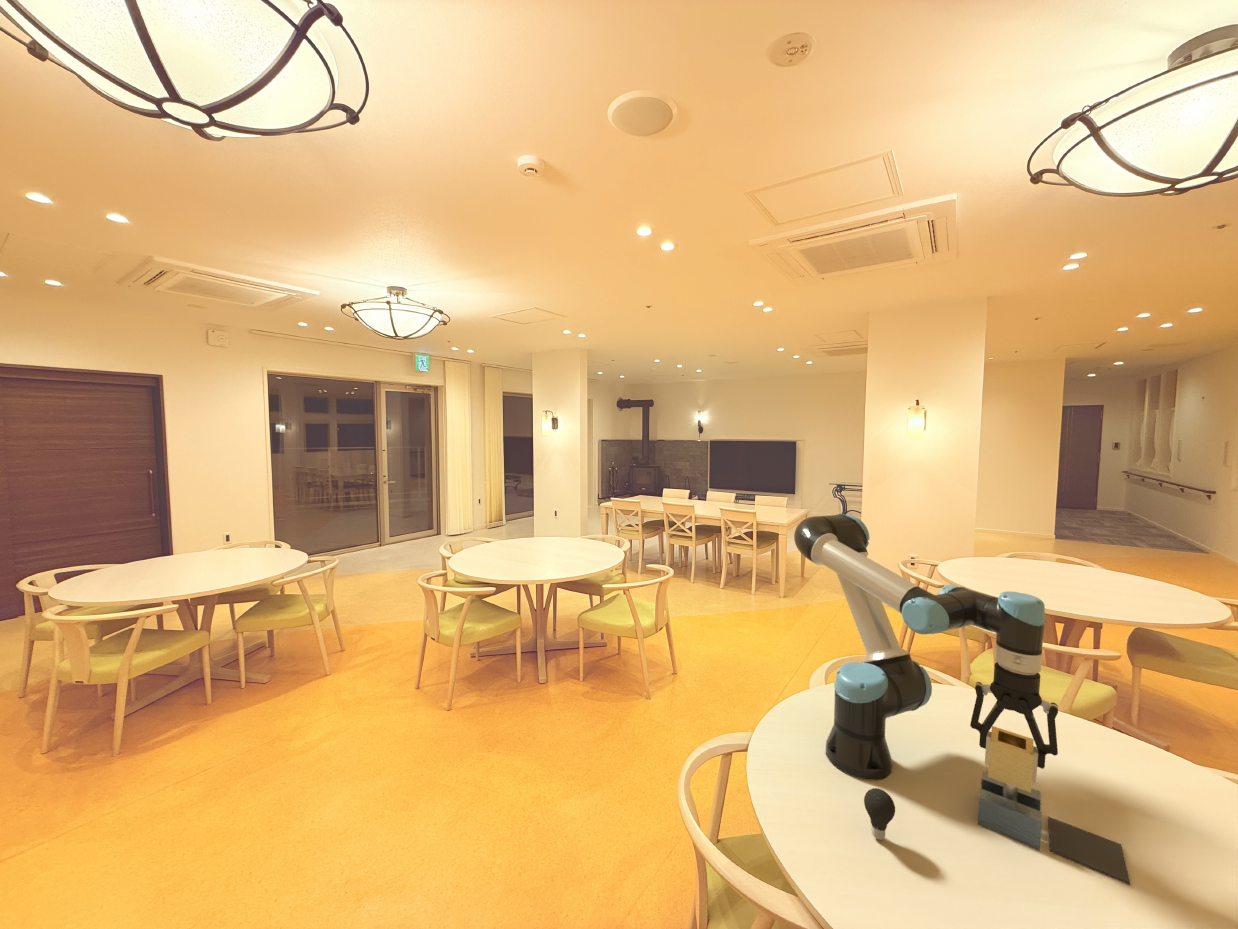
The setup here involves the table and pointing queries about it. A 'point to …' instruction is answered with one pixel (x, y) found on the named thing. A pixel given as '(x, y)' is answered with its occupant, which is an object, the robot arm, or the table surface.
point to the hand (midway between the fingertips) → (1009, 770)
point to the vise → (1010, 811)
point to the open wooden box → (1011, 758)
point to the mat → (1087, 849)
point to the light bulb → (879, 811)
